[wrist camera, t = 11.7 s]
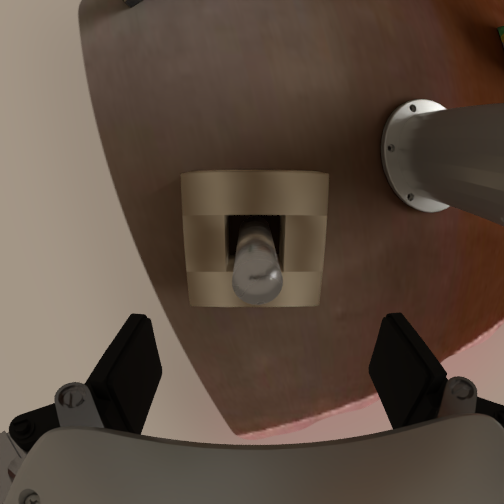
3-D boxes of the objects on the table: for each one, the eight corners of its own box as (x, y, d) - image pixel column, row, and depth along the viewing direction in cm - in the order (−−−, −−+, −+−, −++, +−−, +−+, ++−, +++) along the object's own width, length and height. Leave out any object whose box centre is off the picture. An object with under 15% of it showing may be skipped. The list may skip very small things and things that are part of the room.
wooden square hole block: (316, 171, 26) (329, 174, 22) (309, 285, 30) (318, 305, 26) (191, 170, 26) (180, 173, 22) (197, 285, 30) (190, 306, 26)
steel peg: (270, 215, 27) (284, 258, 16) (269, 245, 28) (281, 304, 17) (239, 215, 27) (231, 258, 16) (239, 245, 28) (232, 304, 17)
